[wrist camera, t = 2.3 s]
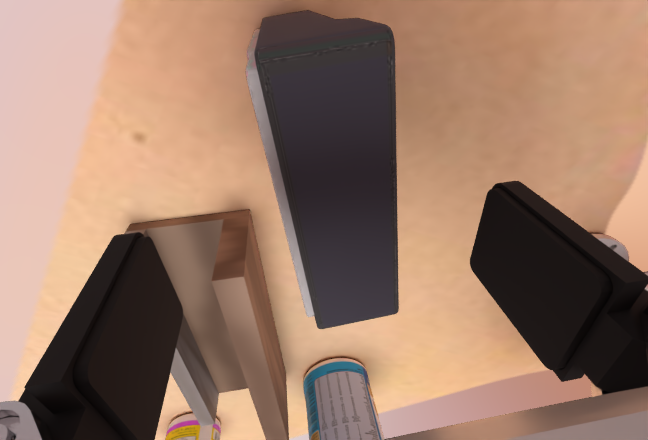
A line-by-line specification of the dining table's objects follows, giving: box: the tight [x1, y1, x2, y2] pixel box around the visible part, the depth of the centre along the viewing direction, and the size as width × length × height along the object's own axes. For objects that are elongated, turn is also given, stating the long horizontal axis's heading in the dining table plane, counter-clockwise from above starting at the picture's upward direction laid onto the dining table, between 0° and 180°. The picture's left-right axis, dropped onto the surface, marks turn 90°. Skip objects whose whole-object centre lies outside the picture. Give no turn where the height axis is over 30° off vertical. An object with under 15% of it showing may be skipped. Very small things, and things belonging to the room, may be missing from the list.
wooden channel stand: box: [125, 210, 289, 440], centre depth 31 cm, size 10×24×8 cm, turn 3°
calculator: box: [246, 10, 399, 329], centre depth 17 cm, size 11×4×15 cm, turn 8°
